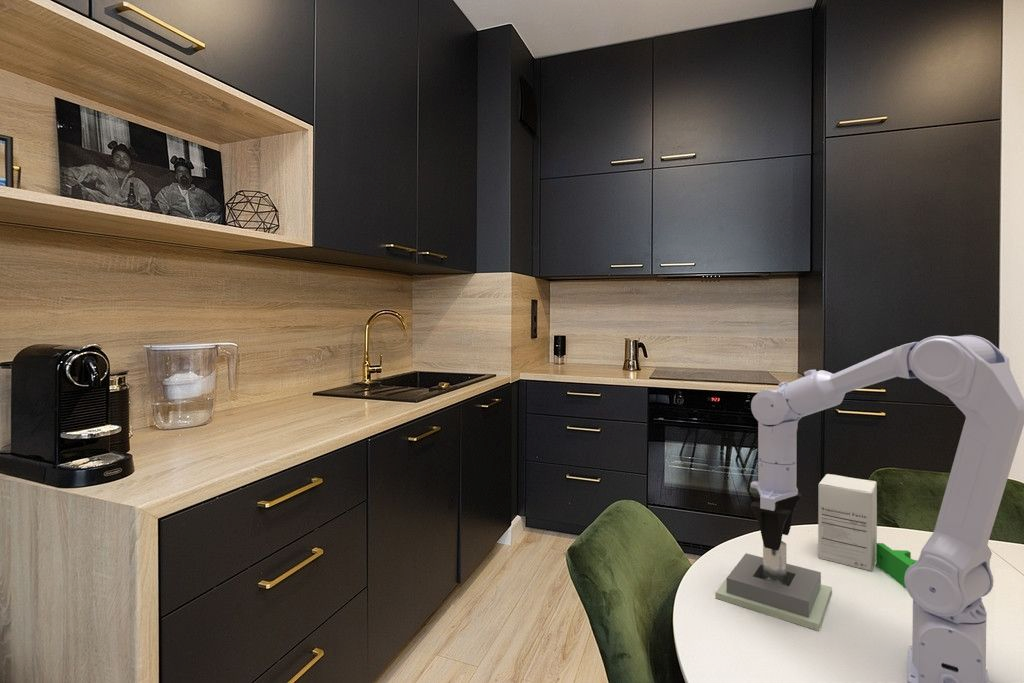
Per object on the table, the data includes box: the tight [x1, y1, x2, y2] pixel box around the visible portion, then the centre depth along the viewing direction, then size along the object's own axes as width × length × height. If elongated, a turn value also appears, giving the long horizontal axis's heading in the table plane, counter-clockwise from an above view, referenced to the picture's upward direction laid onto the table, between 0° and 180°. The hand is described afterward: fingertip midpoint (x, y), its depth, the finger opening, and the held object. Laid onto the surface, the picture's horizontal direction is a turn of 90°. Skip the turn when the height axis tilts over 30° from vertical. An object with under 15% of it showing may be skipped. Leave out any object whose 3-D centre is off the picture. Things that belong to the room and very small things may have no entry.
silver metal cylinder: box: [762, 540, 787, 586], centre depth 85 cm, size 4×4×8 cm
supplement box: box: [817, 473, 878, 572], centre depth 100 cm, size 9×9×15 cm
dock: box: [714, 552, 833, 632], centre depth 85 cm, size 14×15×4 cm
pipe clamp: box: [875, 542, 918, 589], centre depth 90 cm, size 11×4×5 cm, turn 173°
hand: (776, 540), depth 85 cm, fingers open, 7 cm apart
